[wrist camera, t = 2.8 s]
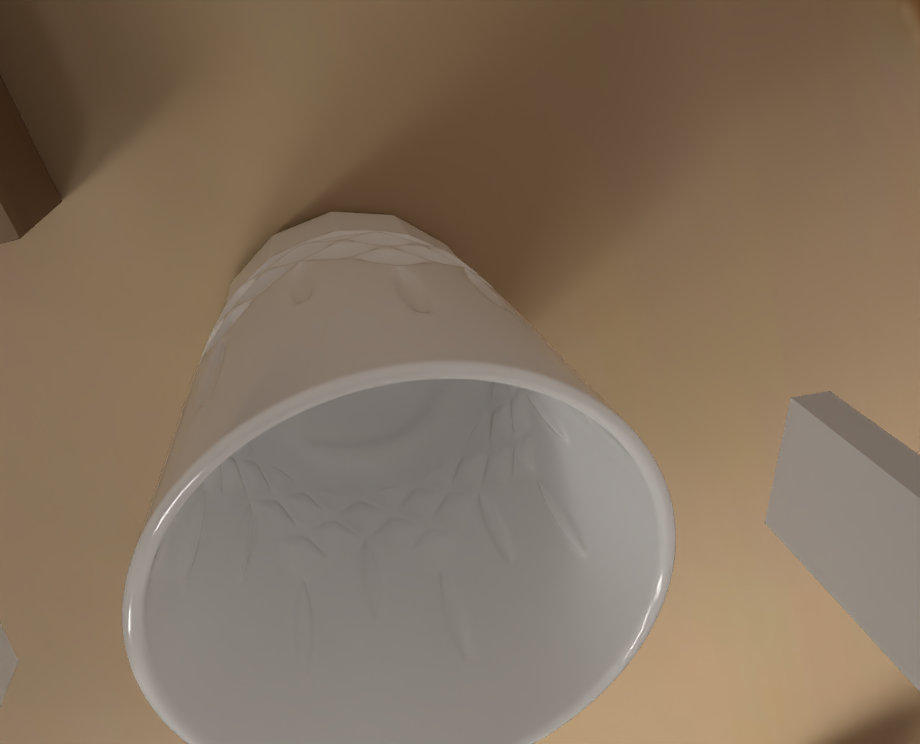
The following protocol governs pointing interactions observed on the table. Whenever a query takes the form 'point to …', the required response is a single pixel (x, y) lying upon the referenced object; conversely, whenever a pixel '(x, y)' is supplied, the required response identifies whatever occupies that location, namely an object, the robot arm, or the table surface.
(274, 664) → the white cup
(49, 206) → the walnut picture frame
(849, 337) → the table surface
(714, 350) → the table surface
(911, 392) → the table surface
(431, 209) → the table surface
